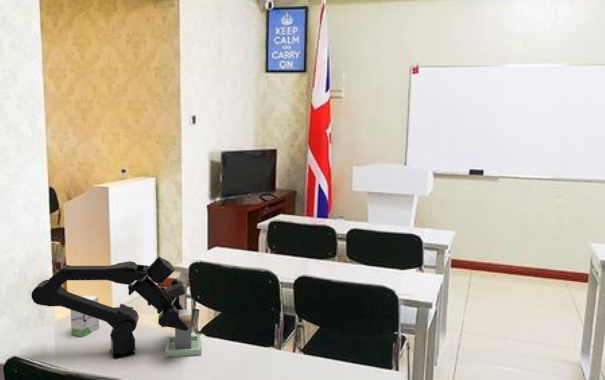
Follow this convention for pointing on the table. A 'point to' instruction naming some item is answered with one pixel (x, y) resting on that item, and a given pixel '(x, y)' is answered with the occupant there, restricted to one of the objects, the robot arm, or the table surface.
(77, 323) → the ink box
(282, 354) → the table surface
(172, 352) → the tray
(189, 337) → the grey tall block
